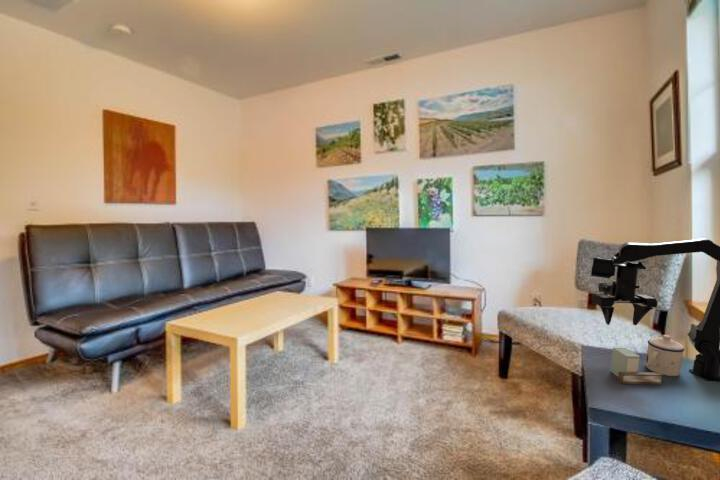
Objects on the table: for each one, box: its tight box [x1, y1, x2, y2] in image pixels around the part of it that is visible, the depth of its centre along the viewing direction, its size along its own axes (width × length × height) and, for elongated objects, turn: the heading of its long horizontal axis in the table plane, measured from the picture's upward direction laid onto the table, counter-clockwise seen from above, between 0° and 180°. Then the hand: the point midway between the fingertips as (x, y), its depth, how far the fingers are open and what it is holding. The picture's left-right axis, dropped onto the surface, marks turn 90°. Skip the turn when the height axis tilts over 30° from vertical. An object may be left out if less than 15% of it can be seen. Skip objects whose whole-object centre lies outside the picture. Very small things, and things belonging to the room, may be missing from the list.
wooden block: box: [617, 371, 663, 385], centre depth 110 cm, size 12×2×3 cm, turn 90°
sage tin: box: [610, 347, 641, 377], centre depth 114 cm, size 4×6×8 cm, turn 0°
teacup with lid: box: [645, 334, 685, 377], centre depth 117 cm, size 12×9×12 cm
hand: (621, 324), depth 125 cm, fingers open, 9 cm apart
